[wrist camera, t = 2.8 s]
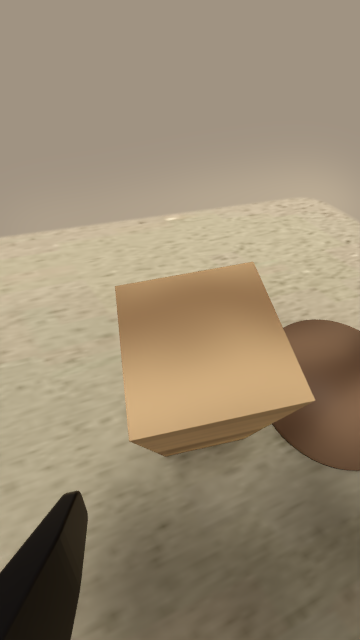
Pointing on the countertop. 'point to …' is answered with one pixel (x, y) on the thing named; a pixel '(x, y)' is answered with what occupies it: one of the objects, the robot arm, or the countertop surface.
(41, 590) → the robot arm
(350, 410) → the coaster
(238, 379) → the oak block
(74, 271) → the countertop surface
